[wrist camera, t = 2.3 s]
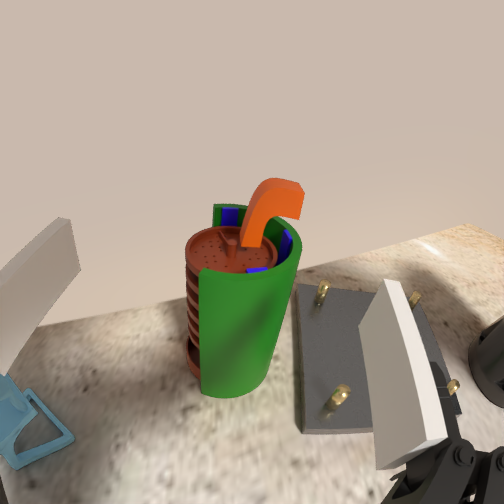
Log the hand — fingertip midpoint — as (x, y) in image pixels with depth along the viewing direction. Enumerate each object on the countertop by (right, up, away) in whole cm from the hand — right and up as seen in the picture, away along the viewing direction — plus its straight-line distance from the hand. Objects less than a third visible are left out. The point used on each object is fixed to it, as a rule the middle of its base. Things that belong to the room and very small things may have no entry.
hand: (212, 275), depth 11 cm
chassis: (+17, -12, +21) cm, 30 cm away
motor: (-1, -11, +19) cm, 22 cm away
